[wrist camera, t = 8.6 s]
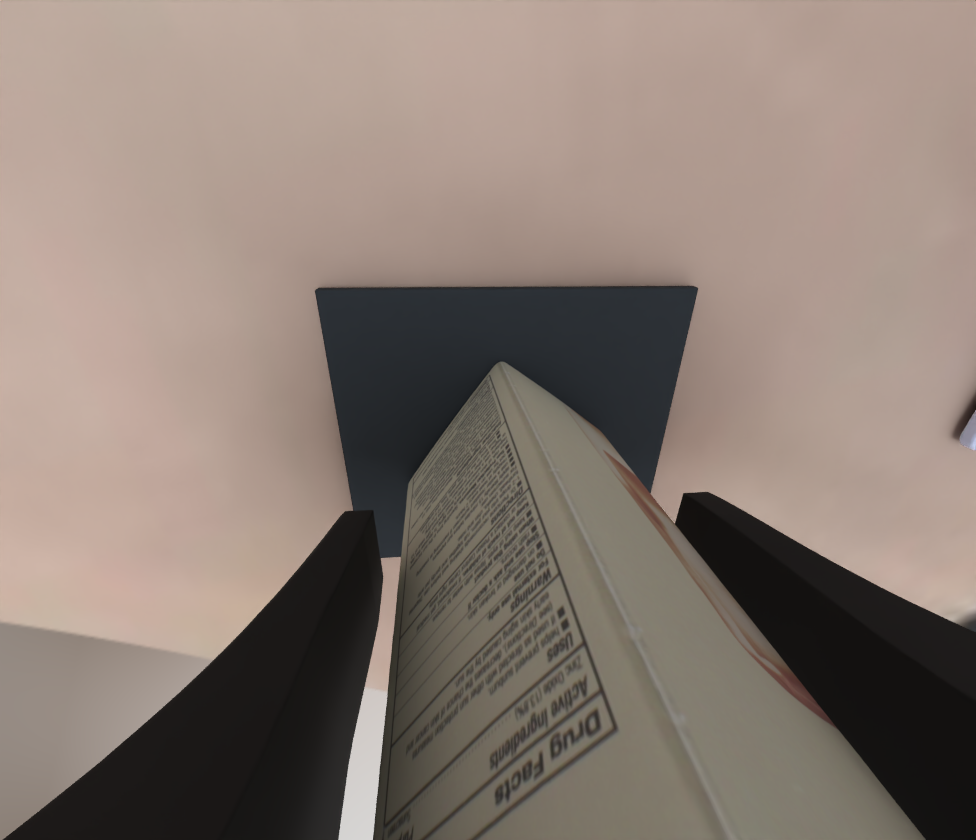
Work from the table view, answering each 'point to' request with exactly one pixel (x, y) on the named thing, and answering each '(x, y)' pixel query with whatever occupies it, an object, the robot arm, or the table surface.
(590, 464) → the product carton box
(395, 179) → the table surface
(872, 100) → the table surface
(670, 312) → the pad
